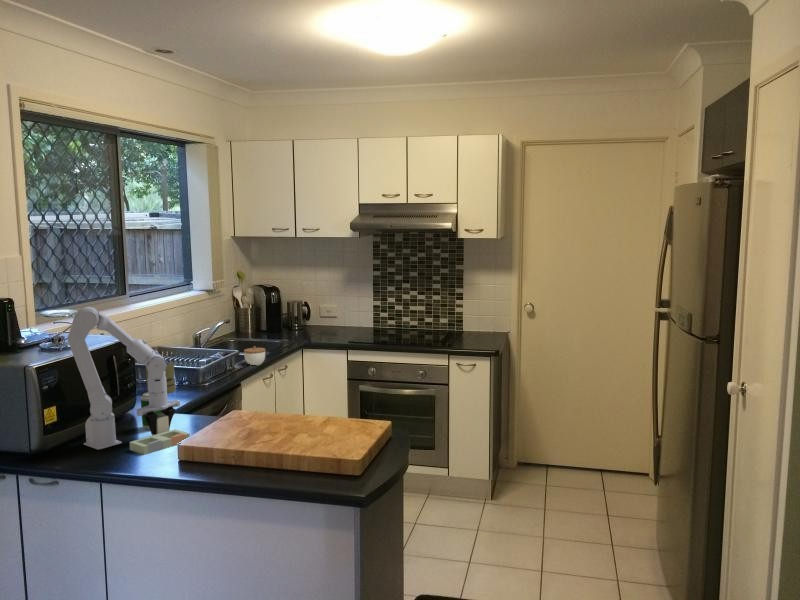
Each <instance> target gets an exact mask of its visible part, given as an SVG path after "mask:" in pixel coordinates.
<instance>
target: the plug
mask: <svg viewBox="0 0 800 600" xmlns="http://www.w3.org/2000/svg"><path fill="white" fill-rule="evenodd" d="M156 415H158V416H157V422H156V427H157V434H160V433H164V432H168V431H170V429H169V420H168V416H167V415H165V414H164V413H157V414H156ZM157 434H156V435H157ZM151 436H153V434H151Z"/></svg>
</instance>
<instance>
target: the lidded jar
mask: <svg viewBox="0 0 800 600" xmlns="http://www.w3.org/2000/svg"><path fill="white" fill-rule="evenodd" d="M243 355H244V360H245V362H246V363H247V364H248V365H249V364H250V365H249V366H251V365H256V366H261V365H262V364H263V363H264V361H265V359H266V348H264V347H257V346H255V345H254V346H253V347H250V348H245V349H243Z"/></svg>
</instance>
